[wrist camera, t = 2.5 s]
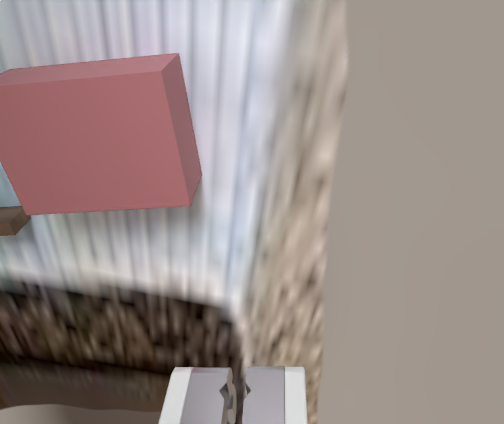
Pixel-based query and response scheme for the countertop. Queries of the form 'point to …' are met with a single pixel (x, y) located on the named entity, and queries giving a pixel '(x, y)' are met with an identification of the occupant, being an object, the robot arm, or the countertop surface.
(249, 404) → the robot arm
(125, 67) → the carton
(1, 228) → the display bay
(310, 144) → the countertop surface
